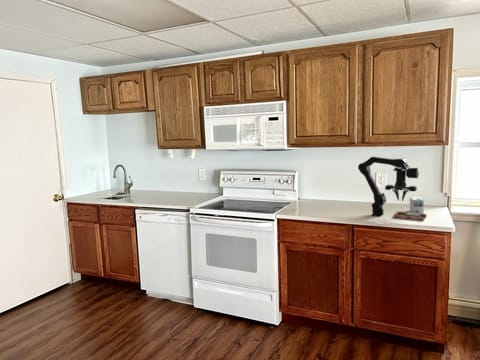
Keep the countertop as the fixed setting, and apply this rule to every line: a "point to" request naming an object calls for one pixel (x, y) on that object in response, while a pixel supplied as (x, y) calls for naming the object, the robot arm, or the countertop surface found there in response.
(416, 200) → the light bulb box
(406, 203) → the countertop surface
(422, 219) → the walnut box
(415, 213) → the cover plate
